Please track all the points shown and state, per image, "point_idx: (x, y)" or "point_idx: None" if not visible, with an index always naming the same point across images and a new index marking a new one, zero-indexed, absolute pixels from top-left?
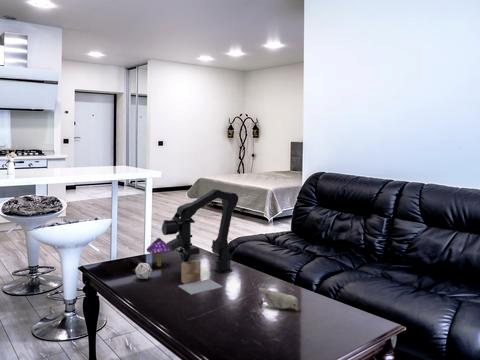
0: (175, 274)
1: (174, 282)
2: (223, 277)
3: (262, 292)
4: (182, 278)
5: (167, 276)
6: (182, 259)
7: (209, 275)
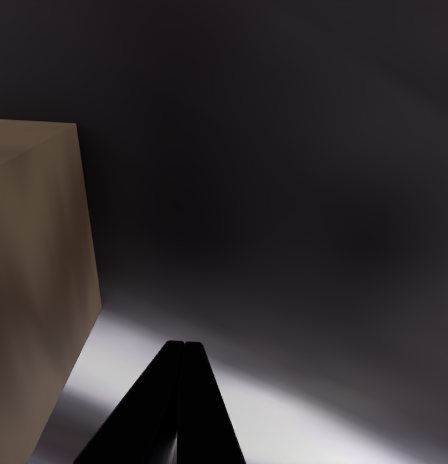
0: (381, 205)
1: (96, 21)
2: None
3: None
4: (16, 135)
5: (401, 73)
6: (180, 445)
7: None
